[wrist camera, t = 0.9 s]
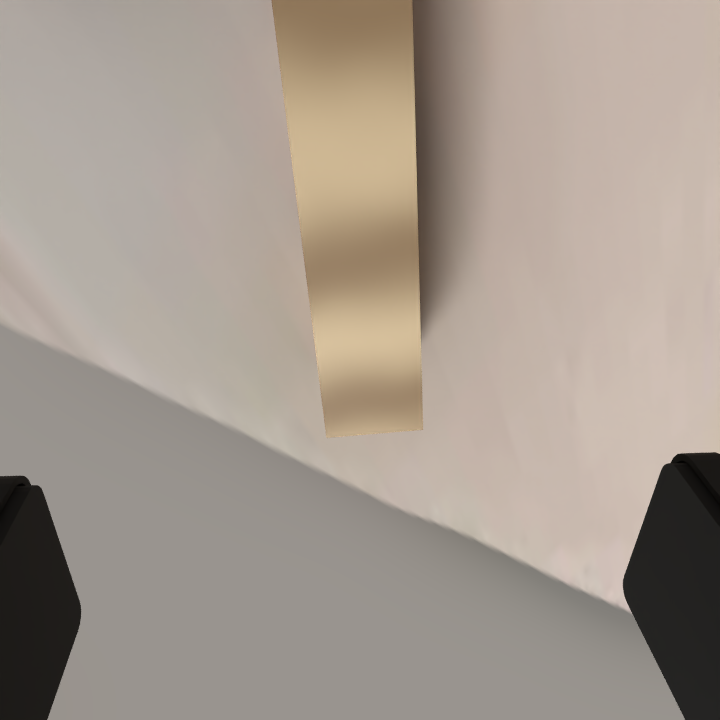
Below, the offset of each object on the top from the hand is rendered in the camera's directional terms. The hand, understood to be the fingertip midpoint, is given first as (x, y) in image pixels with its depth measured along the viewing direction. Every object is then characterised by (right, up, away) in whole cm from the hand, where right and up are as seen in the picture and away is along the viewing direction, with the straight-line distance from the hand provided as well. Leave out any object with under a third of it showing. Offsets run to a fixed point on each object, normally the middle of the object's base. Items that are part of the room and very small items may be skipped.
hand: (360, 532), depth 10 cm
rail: (0, +9, +17) cm, 19 cm away
